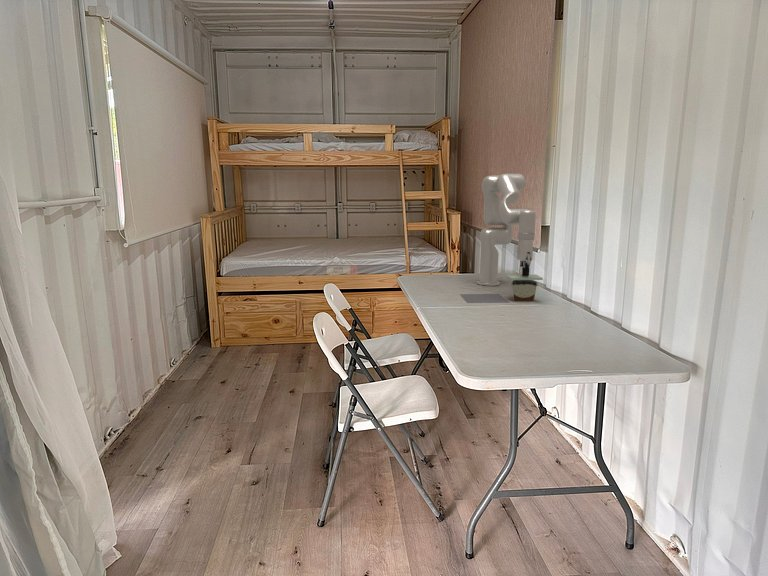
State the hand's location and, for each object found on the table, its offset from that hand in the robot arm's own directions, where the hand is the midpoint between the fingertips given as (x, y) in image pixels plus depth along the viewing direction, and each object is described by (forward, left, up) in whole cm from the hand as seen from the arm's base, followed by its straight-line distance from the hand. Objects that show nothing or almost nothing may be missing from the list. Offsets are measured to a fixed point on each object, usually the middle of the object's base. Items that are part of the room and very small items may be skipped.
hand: (524, 274), depth 252 cm
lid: (0, 0, -2) cm, 2 cm away
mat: (-4, -18, -13) cm, 22 cm away
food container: (0, 0, -13) cm, 13 cm away
